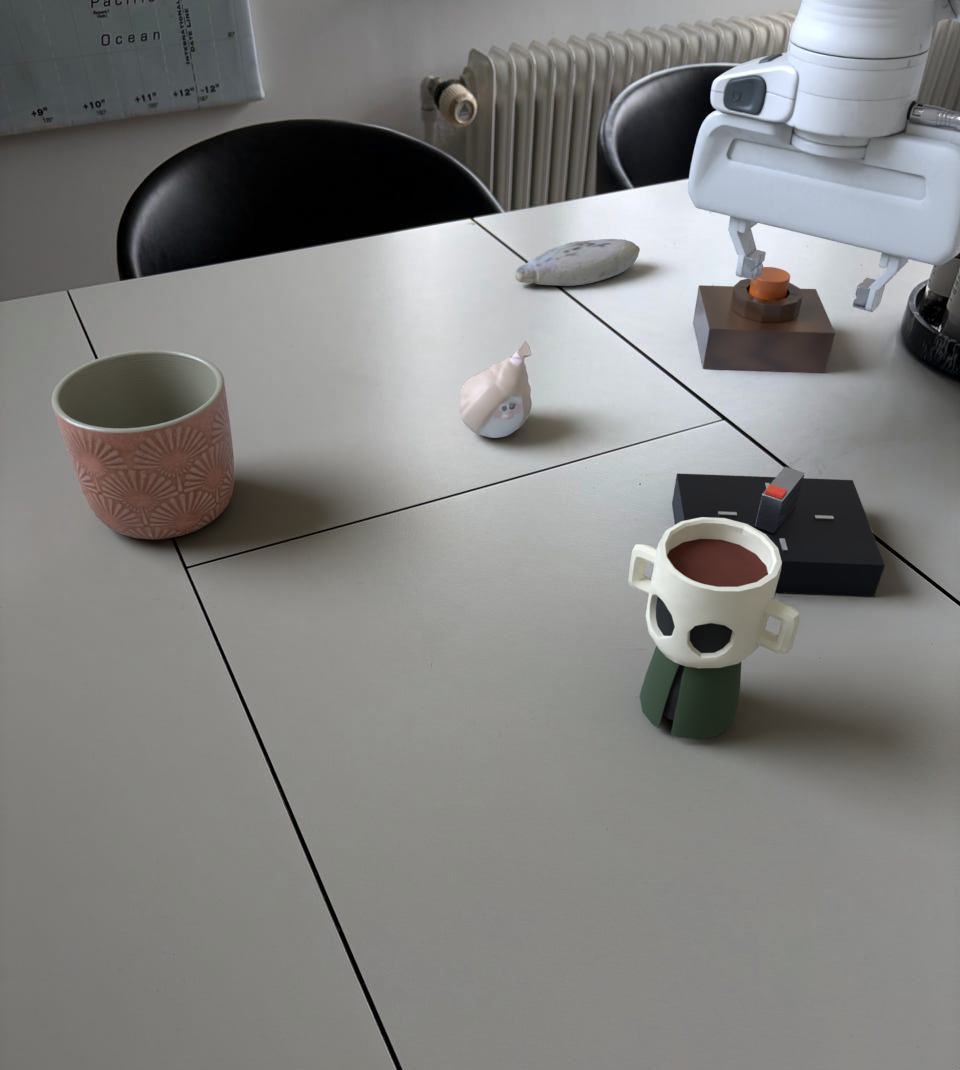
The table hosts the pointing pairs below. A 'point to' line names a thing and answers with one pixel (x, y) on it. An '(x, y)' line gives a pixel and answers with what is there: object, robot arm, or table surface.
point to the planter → (149, 440)
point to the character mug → (707, 619)
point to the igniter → (762, 330)
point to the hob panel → (796, 530)
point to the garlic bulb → (498, 397)
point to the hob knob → (779, 499)
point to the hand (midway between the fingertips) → (805, 291)
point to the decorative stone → (579, 263)
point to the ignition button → (770, 284)
